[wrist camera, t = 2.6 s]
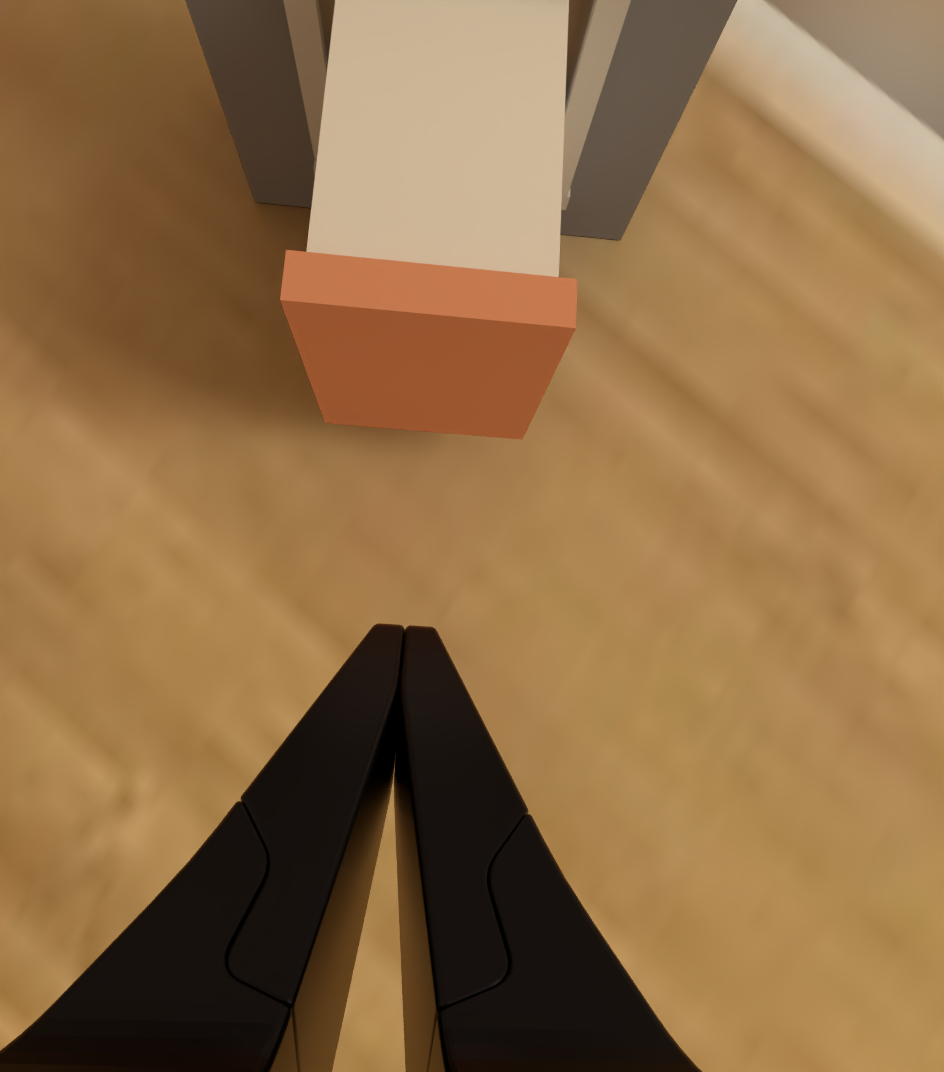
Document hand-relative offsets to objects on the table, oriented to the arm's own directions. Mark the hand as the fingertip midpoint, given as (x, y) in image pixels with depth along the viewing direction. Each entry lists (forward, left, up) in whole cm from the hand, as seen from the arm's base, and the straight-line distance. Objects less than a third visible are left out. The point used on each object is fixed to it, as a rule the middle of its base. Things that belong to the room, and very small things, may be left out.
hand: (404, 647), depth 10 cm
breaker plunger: (+10, -6, -8) cm, 14 cm away
